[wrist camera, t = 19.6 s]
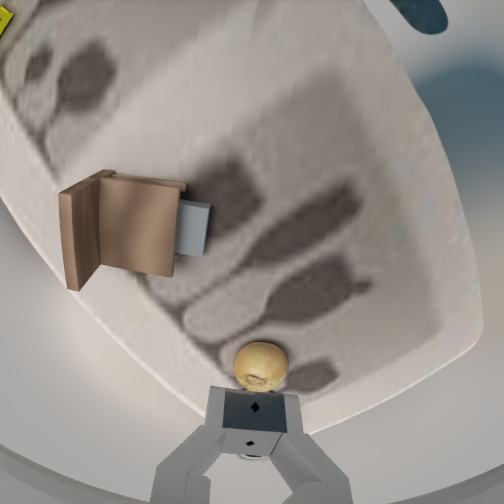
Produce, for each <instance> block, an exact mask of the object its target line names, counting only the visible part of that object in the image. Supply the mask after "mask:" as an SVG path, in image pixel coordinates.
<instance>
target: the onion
mask: <svg viewBox="0 0 504 504" xmlns="http://www.w3.org/2000/svg"><path fill="white" fill-rule="evenodd" d="M233 371H234V374H235V376H236V378H237V380H238V381H239V383H240V384H241V385H242V386H243V387H244V388H246V389H248V390H250V391H255V392H267V391H270V390H273V389H275V388H276V387H278V386H279V385H280V384H281V383H282V382H283V381H284V379H285V378H286V376H287V373H288V361H287V357H286V355H285V353H284V352H283V351H282V350H281V349H280V348H279V347H277V346H275V345H273V344H270V343H265V342H251V343H250V344H248V345H246V346H244V347H243V348H241V349H240V350H239V351H238V352H237V354H236V355H235V358H234V361H233Z"/></svg>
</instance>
